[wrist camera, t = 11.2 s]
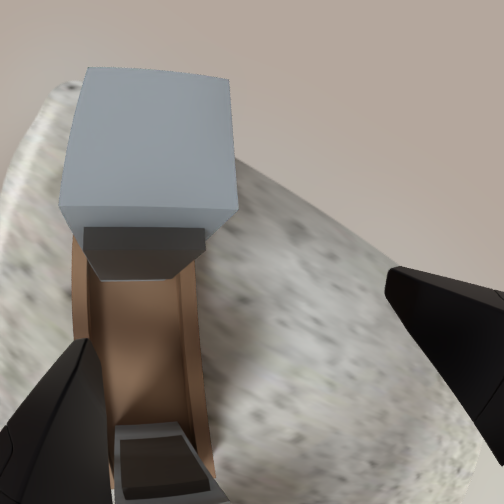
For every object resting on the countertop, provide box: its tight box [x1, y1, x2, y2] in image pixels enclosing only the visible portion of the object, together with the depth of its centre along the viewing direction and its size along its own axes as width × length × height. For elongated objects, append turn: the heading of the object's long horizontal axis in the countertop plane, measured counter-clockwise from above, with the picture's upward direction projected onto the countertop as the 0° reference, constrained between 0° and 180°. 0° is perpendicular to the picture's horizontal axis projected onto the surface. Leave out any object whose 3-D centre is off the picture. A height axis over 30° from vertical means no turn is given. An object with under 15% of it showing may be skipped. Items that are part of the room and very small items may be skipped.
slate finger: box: [59, 67, 239, 282], centre depth 12 cm, size 5×4×13 cm
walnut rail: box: [72, 235, 230, 504], centre depth 13 cm, size 19×7×11 cm, turn 6°
